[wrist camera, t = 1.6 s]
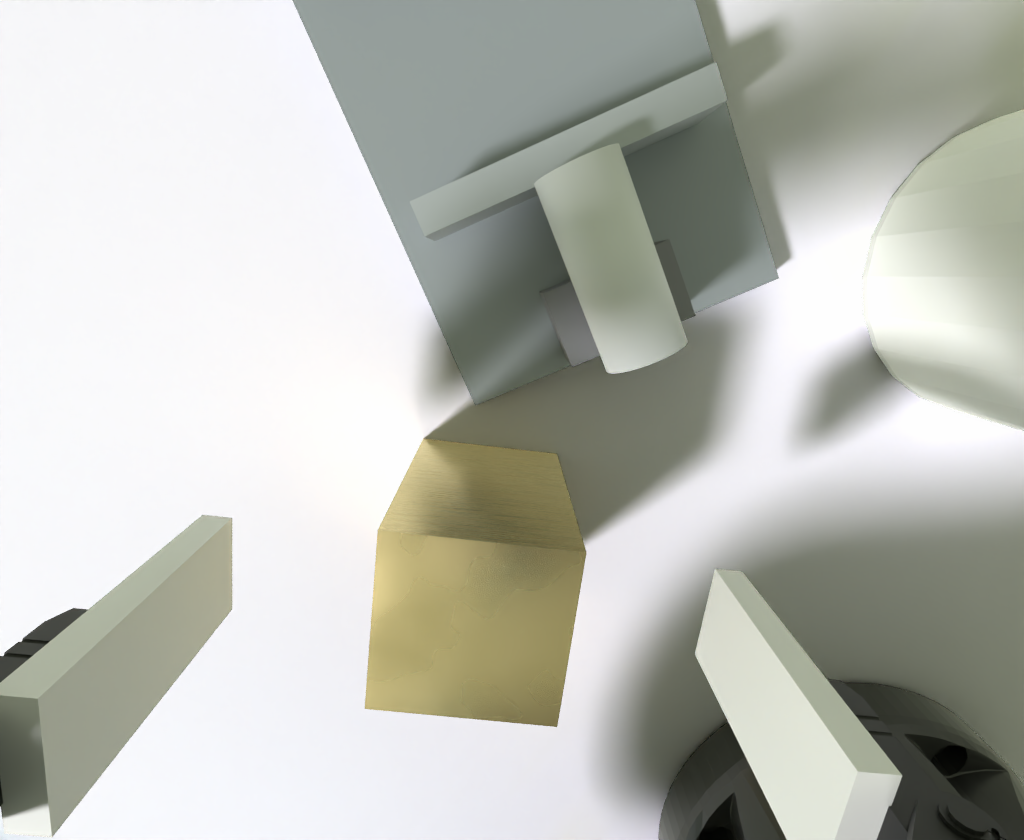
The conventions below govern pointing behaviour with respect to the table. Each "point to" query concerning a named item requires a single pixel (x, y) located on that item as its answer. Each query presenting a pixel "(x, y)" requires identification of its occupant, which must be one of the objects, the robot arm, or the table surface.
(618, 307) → the shaft rig
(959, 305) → the mug
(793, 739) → the robot arm
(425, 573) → the coupling block
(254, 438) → the table surface
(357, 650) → the table surface
